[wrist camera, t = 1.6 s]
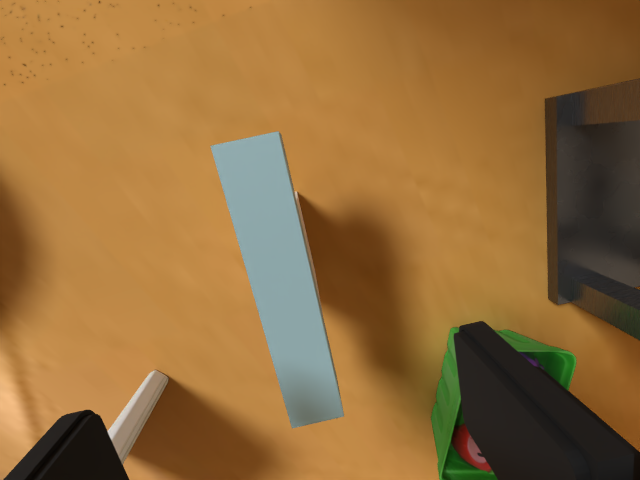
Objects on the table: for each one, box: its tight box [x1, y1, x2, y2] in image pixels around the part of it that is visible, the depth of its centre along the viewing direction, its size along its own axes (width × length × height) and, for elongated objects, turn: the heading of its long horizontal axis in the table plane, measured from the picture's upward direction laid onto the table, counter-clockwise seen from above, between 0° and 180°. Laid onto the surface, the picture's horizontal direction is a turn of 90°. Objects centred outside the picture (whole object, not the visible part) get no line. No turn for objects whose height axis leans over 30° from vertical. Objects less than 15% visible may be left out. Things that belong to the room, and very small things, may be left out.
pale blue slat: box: [211, 132, 344, 428], centre depth 19 cm, size 13×2×10 cm, turn 12°
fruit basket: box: [431, 327, 576, 480], centre depth 22 cm, size 11×9×11 cm
